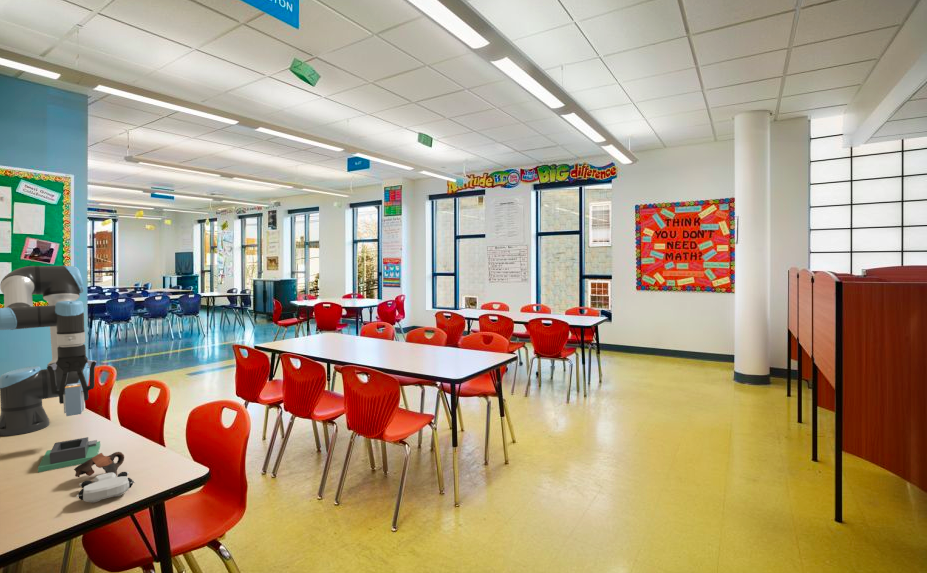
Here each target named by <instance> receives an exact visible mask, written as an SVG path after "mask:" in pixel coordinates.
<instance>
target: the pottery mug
mask: <svg viewBox="0 0 927 573" xmlns="http://www.w3.org/2000/svg"><path fill="white" fill-rule="evenodd" d="M115 458H117V461H116V462H114V461H115ZM124 461H125V455H124V453H123V452H121V451H116V452H113V453H112V454H111V453H110V455H104V454H103V452H99V453H98V455H96V456H94V457H93V458H91V459H89V460H87V461H86V462H84V463H82V464H79V465H78V466H77V465H76V467H75V468H74V469H73V470H74V471H75V474H74V476H75V477H76V478H80V477H81V476H82V475H85V474H86V476H88V477H91V476H93V475H94V473H95V470H94V469H93V466H94V465H95V466H96V467H97V468H99V469H103V470H104V473H103V474H106V473H115V474H116V477H117V476H118V469H119V468H120V467H121V465H122V464H123V463H124Z"/></svg>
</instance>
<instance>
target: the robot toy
mask: <svg viewBox="0 0 927 573" xmlns="http://www.w3.org/2000/svg"><path fill="white" fill-rule="evenodd" d="M105 473H106V472H105ZM129 474H130V472H129V471H120V473H117V476H116V474H115V473H106V474H104V473H102V474H98V475H97V476H95V477H94V478H93V481H92V480H84V481H82V482H81V483H80V482H79V484H78V486H79V487H81V489H80V490H79V492H78V493H77V494H76V498H78V499H80V500H81V501H84V502H86V503H87V502H88V503H91V504H92V503H94V504H95V503H97V502H98V503H99V502H100V501H101V500H105V499H108V498H118V497H120V496H122V495H124V494H125V493H126V492H127V491H129V489H131V488H132V486H133V484H135V483H136V481H135V480H133V479H132V478H131V477H128V475H129Z"/></svg>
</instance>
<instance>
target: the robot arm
mask: <svg viewBox="0 0 927 573" xmlns="http://www.w3.org/2000/svg"><path fill="white" fill-rule="evenodd" d="M84 290H85V288H84V280H83V277H82V274H81V271H80V269H79V268H78V267H76V266H73V265H64V264H63V265H43V266H42V265H30V266H24V267H19V268H16V269H14V270H13V271H11V272H9V273H8V274H6V275H5V276H4V277H2V280H1V282H0V291H1V293H2V294H3V300H4V301H3V305H4V307H1V308H0V331H6V330H7V331H8V330H9V331H13V330H22V329H23V330H24V329H34V328H35V329H36V328H49V332H50V346H51V360H50V361H49V362H48V363H47V366H46V368H43V369H42V368H41V366H39V365H38V366H37V365H35V366H27V367H21V368H17V369H14V370H10V371H8V372H5V373H3V374H1V375H0V436H2V437H6V436H17V435H22V434H23V435H24V434H28V433H32V432H35V431H39V430H42V429H44V428H47V427H49V425H50V418H49V416H48V414H47V413H46V410H45V408H44V406H43V400H45V399H52V398H58V400H59V404H60V405H62V404H63V414H66V401H65V386H66V385H67V384H75V383H81V385H82V391H81V407H82V412H85V410H86V401H88V400H89V391H90V390H93V389H94V388H95V383H96V382H95V380H96V379H95V371H96V369H95V367H96V364H97V360H95V359H93V360H92V359H91V360H90V359H89V358H88V356H87V350H86V344H85V343H86V330H85V308H84V302H83V301H82V300H78V299H79V298H80V294H83V293H84ZM33 295H37V296H38V295H42V298H43V300H44V301H46V302H47V303H48V305H36V306H34V303H33Z"/></svg>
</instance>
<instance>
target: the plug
mask: <svg viewBox="0 0 927 573" xmlns="http://www.w3.org/2000/svg"><path fill="white" fill-rule="evenodd" d="M81 391H82V385H81V383H75V384H67V385H66V386H65V401H66V413H65V415H66V417H70V416H78V415H82V413H83V411H82V407H81Z"/></svg>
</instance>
